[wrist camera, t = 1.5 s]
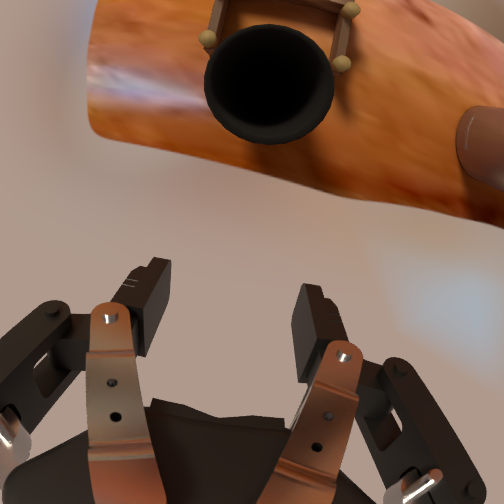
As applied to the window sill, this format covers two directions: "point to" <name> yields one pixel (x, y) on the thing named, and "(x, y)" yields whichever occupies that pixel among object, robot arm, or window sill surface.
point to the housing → (339, 3)
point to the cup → (269, 84)
